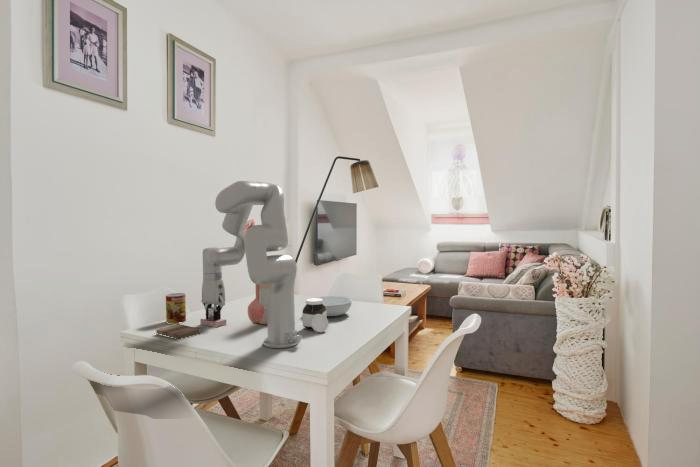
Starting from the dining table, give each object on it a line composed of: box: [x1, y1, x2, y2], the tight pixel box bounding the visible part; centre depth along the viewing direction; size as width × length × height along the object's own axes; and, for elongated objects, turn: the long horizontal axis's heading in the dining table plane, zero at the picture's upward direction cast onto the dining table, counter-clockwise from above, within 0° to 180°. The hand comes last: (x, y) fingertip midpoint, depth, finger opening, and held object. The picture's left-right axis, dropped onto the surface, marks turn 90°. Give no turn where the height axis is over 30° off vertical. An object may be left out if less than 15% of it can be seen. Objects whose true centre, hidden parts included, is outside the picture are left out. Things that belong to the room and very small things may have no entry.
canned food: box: [165, 292, 187, 324], centre depth 171 cm, size 8×8×12 cm
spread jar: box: [301, 297, 329, 333], centre depth 155 cm, size 12×11×12 cm
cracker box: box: [258, 283, 271, 326], centre depth 169 cm, size 14×6×21 cm, turn 164°
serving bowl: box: [314, 295, 352, 317], centre depth 180 cm, size 21×21×7 cm
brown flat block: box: [155, 323, 201, 340], centre depth 151 cm, size 14×9×2 cm, turn 58°
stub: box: [199, 306, 227, 328], centre depth 165 cm, size 10×5×7 cm, turn 58°
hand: (213, 318), depth 165 cm, fingers open, 4 cm apart
